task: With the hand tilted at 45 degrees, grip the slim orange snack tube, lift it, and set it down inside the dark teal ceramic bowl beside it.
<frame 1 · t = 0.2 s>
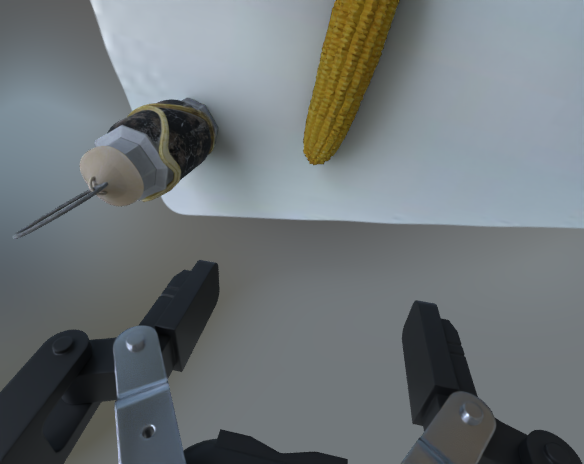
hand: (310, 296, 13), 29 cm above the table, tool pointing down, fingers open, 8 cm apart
lantern: (192, 125, 41), on the table
food: (348, 61, 35), on the table
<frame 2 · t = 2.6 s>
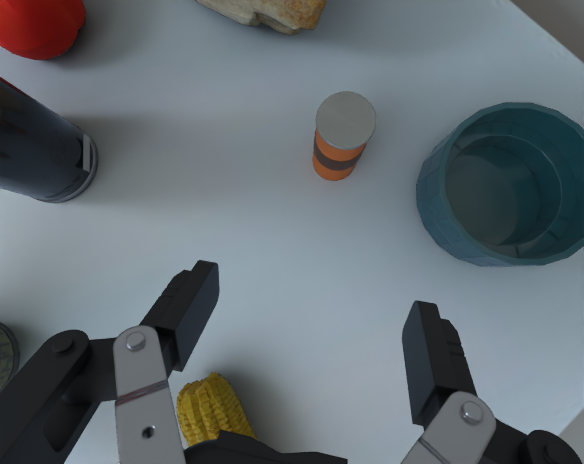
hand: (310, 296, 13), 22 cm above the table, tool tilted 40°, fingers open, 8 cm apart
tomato: (55, 30, 40), on the table
snack tube: (333, 160, 37), on the table
bowl: (483, 197, 36), on the table
food: (247, 463, 34), on the table
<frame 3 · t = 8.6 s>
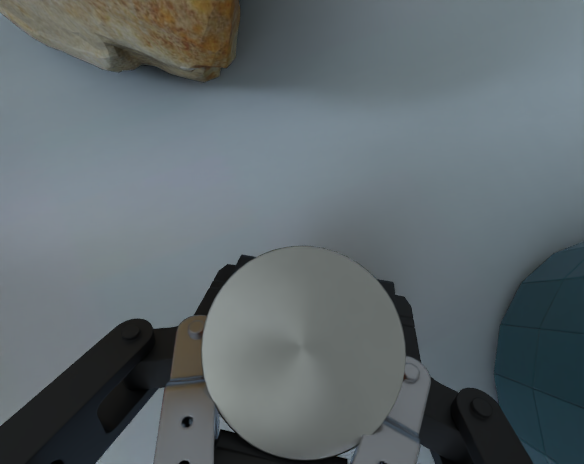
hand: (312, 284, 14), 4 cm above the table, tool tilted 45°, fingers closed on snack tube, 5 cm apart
snack tube: (306, 322, 18), on the table, touching gripper
when the fingers open (5 cm above the table, at t = 17.8 s): snack tube stays where it is, resting on bowl.
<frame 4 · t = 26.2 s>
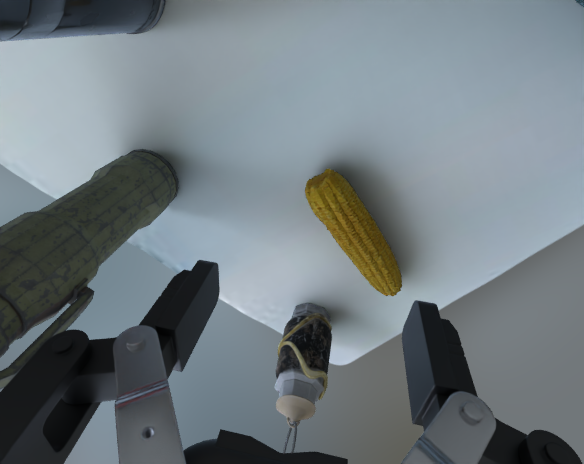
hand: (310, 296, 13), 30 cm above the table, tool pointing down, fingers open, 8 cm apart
lantern: (310, 315, 57), on the table
food: (360, 225, 46), on the table
thermos: (150, 177, 48), on the table
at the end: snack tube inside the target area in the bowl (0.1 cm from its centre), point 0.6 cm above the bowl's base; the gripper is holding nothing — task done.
